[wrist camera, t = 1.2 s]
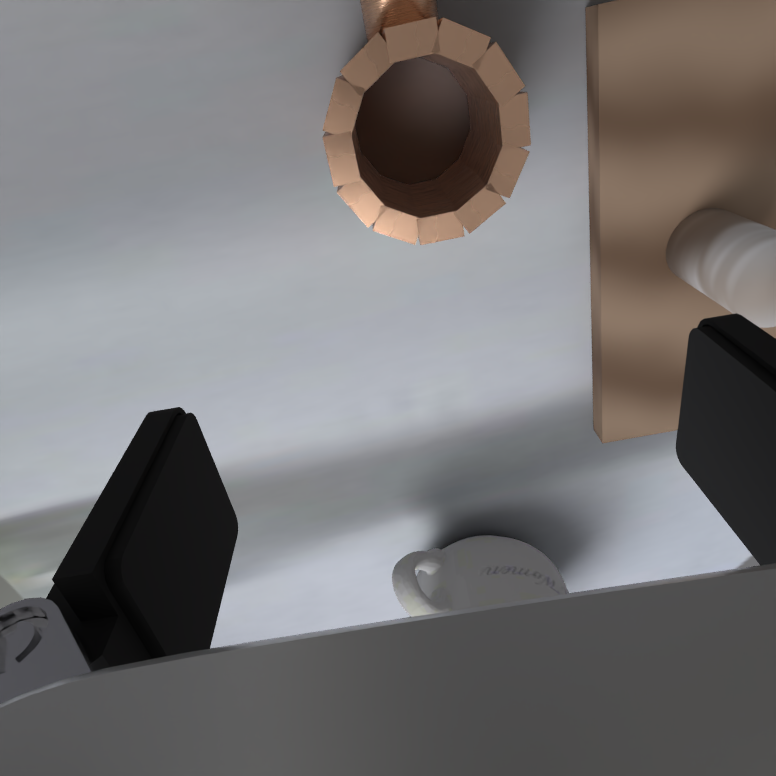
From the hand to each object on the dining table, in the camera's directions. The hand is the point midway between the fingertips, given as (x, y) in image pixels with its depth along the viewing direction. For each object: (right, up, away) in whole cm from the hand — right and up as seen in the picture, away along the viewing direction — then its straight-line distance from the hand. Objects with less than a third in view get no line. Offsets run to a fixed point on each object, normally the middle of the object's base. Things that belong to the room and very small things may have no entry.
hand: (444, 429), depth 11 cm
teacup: (+4, -11, +29) cm, 32 cm away
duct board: (+14, +9, +18) cm, 25 cm away
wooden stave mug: (0, +15, +14) cm, 21 cm away
